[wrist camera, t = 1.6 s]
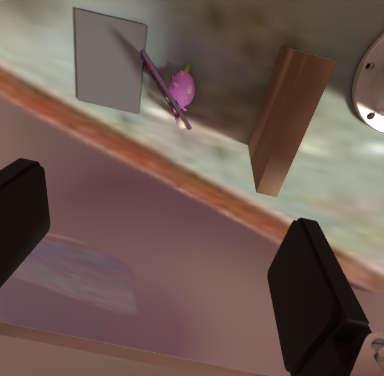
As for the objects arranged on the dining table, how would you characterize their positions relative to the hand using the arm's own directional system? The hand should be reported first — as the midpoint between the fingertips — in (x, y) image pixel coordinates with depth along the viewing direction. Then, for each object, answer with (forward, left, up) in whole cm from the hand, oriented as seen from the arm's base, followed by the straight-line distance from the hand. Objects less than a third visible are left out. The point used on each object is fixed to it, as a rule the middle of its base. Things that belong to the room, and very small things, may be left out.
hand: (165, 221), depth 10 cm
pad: (+12, 0, -26) cm, 29 cm away
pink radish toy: (+4, 0, -27) cm, 27 cm away
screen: (-8, 0, -26) cm, 27 cm away
